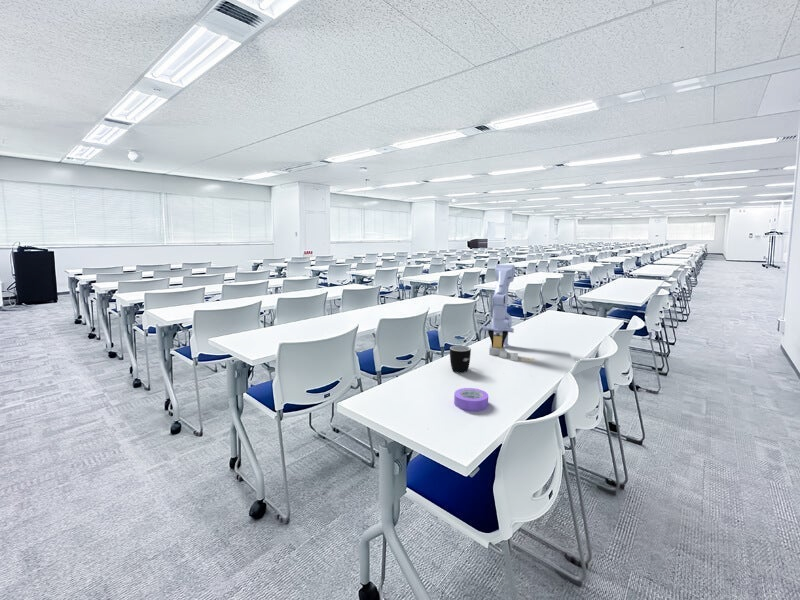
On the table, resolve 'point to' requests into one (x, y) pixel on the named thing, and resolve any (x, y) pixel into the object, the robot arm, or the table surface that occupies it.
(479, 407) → the masking tape
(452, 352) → the mug
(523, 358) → the cable board
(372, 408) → the table surface
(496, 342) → the connector plug
